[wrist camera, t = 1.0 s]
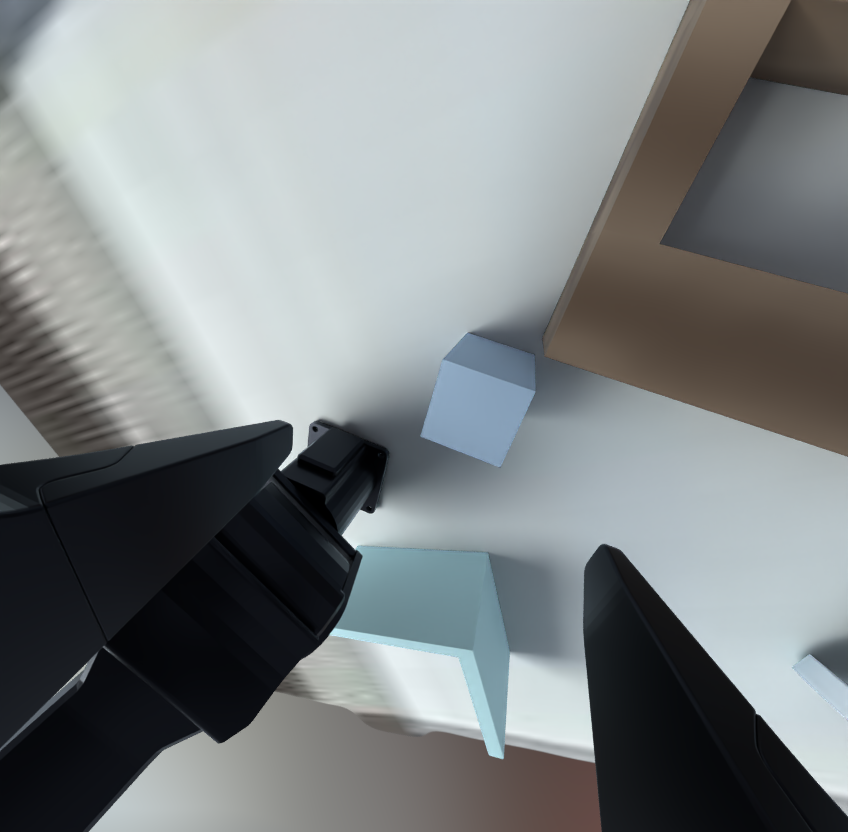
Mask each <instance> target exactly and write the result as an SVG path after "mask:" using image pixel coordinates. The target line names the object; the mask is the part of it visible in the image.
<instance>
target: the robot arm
mask: <svg viewBox="0 0 848 832" xmlns="http://www.w3.org/2000/svg"><path fill="white" fill-rule="evenodd" d="M315 426H316V427H317V428H318V429H316V427H315ZM292 444H293V427H292V425H291V424H289V423H287V422H284V421H281V420H275V421H269V422H263V423H258V424H252V425H246V426H241V427H235V428H229V429H223V430H218V431H212V432H206V433H201V434H195V435H189V436H184V437H178V438H172V439H167V440H161V441H155V442H150V443H144V444H138V445H135V446H126V447H121V448H115V449H109V450H103V451H97V452H91V453H85V454H78V455H70V456H63V457H56V458H49V459H41V460H34V461H26V462H18V463H11V464H3V465H0V832H89V831H90V829H91V828H92V827H93V826H94V825H95V824H96V823H97V822H98V821H99V819H100V818H101V817H102V816H103V815H104V814H105V813H106V812H107V811H108V809H110V807H111V806H112V805H113V804H114V803H115V802H116V801H117V799H118V798H119V797H120V796H121V795H122V794H123V793H124V792H125V791H126V790H127V788H128V787H129V786H130V785H131V784H132V783H133V782H134V781H135V780H136V779H137V777H138V776H139V775H140V774H141V773H142V772H143V771H144V770H145V769H146V768H147V766H148V765H149V764H150V763H151V762H152V761H153V760H154V759H155V758H156V757H157V756H158V755H159V754H160V753H161V752H162V751H163V750H164V749H167V748H169V747H171V746H173V745H175V744H177V743H179V742H181V741H183V740H185V739H188V738H190V737H192V736H194V735H196V734H198V733H200V732H202V731H204V732H205V733H206V734H207V735H209V736H210V737H211V738H212V739H213V740H215V741H216V742H217V743H223V742H225V741H226V740H228V739H229V738H231V737H232V736H233V735H235V734H237V733H238V732H239V731H241V730H242V729H244V728H245V727H247V726H248V725H249V724H250V723H251V722H252V721H253V720H254V718H255V717H256V716H257V714H258V713H259V711H260V710H261V709H262V707H263V706H264V705H265V703H266V702H267V700H268V699H269V698H270V696H271V695H272V694H273V692H274V691H275V690H276V688H277V687H278V686H279V685H280V683H281V682H282V681H283V679H284V678H285V677H286V676H287V675H288V674H289V672H290V671H291V670H292V669H293V668H294V667H295V666H296V664H297V663H298V662H299V661H300V660H301V659H303V658H305V657H307V656H308V655H309V654H311V653H312V652H313V651H314V650H316V649H317V648H318V647H319V646H320V645H321V644H322V643H323V642H324V641H325V639H326V638H327V637H328V636H329V635H330V633H331V632H332V631H333V629H334V628H335V626H336V625H337V623H338V622H339V620H340V619H341V617H342V615H343V613H344V611H345V608H346V606H347V603H348V600H349V597H350V594H351V591H352V588H353V585H354V582H355V579H356V576H357V573H358V570H359V566H360V563H361V560H362V557H363V555H362V554H361V553H360V552H359V551H358V550H355V549H354V548H353V547H352V546H351V545H350V544H349V543H348V542H347V541H346V540H345V539H344V538H343V537H342V534H343V533H344V531H345V530H346V529H347V527H348V526H349V524H350V523H351V521H352V520H353V519H354V517H355V516H356V514H357V513H358V511H359V510H363V511H365V512H367V513H374V511H375V510H376V508H377V504H378V500H379V496H380V492H381V488H382V484H383V479H384V475H385V471H386V467H387V463H388V459H389V451H388V450H387V449H386V448H384V447H381V446H379V445H376V444H374V443H371V442H369V441H366V440H364V439H362V438H359V437H357V436H354V435H352V434H349V433H347V432H345V431H342V430H340V429H337V428H335V427H332V426H329V425H327V424H324V423H322V422H319V421H314V422H313V423H311V424H310V426H309V436H308V447H307V448H306V449H305V450H303V451H302V452H301V453H300V454H299V455H298V457H297V458H296V459H295V460H294V461H292V462H291V463H290V464H289V465H288V466H286V467H285V468H284V469H283V470H282V471H280V470H279V469H278V468H279V467H280V465H281V464H282V463H283V462H284V461H285V459H286V458H287V457H288V456H289V454H290V453H291V450H292ZM380 453H382V454H383V455H384V456H382V455H381V454H380ZM369 506H370V507H371V508H370V507H369ZM583 633H584V646H585V657H586V668H587V679H588V689H589V700H590V711H591V721H592V732H593V743H594V754H595V764H596V775H597V786H598V797H599V807H600V818H601V827H602V832H848V816H847V815H846V814H845V813H844V812H843V811H842V810H841V808H840V807H839V806H838V805H837V804H836V803H835V802H834V801H833V800H832V798H831V797H830V796H829V795H828V794H827V793H826V792H825V791H824V789H823V788H822V787H821V786H820V785H819V784H818V783H817V782H816V781H815V779H814V778H813V777H812V776H811V775H810V774H809V772H808V771H807V770H806V769H805V768H804V767H803V765H802V764H801V763H800V762H799V761H798V760H797V758H796V757H795V756H794V755H793V754H792V753H791V751H790V750H789V749H788V748H787V747H786V746H785V745H784V743H783V742H782V741H781V740H780V739H779V737H778V736H777V735H776V734H775V733H774V732H773V730H772V729H771V728H770V727H769V726H768V724H767V723H766V722H765V721H764V720H763V718H762V717H761V716H760V715H758V714H756V711H755V709H754V708H753V707H752V705H751V704H750V703H749V702H748V701H747V700H746V698H745V697H744V696H743V695H742V694H741V692H740V691H739V690H738V689H737V688H736V686H735V685H734V684H733V683H732V682H731V681H730V679H729V678H728V677H727V676H726V675H725V673H724V672H723V671H722V670H721V669H720V667H719V666H718V665H717V664H716V663H715V662H714V660H713V659H712V658H711V657H710V656H709V654H708V653H707V652H706V651H705V650H704V649H703V647H702V646H701V645H700V644H699V643H698V641H697V640H696V639H695V638H694V637H693V635H692V634H691V633H690V632H689V631H688V630H687V628H686V627H685V626H684V625H683V624H682V622H681V621H680V620H679V619H678V618H677V616H676V615H675V614H674V613H673V612H672V611H671V609H670V608H669V607H668V606H667V605H666V603H665V602H664V601H663V600H662V599H661V597H660V596H659V595H658V594H657V593H656V592H655V590H654V589H653V588H652V587H651V586H650V584H649V583H648V582H647V581H646V580H645V578H644V577H643V576H642V575H641V574H640V573H639V571H638V570H637V569H636V568H635V567H634V565H633V564H632V563H631V562H630V561H629V559H628V558H627V557H626V556H625V555H624V554H623V552H622V551H621V550H619V549H617V548H615V547H612V546H609V545H607V544H602V545H600V546H599V547H598V549H597V550H596V551H595V553H594V554H593V555H592V557H591V558H590V560H589V561H588V562H587V564H586V566H585V570H584V611H583ZM87 662H88V663H87ZM86 663H87V665H86V667H85V669H84V670H83V671H82V672H81V673H80V674H79V675H78V676H76V677H75V678H74V679H73V680H72V681H71V682H69V683H68V684H67V685H66V686H65V687H64V688H63V689H62V690H60V689H61V688H62V687H63V686H64V685H65V684H66V683H67V682H68V681H69V680H70V679H71V678H72V677H73V676H74V675H75V674H76V673H77V672H78V671H79V670H80V669H81V668H82V667H83V666H84V665H85V664H86ZM59 690H60V691H59ZM58 691H59V692H58ZM57 692H58V693H57ZM56 693H57V694H56ZM55 694H56V695H55ZM54 695H55V696H54ZM53 696H54V697H53Z"/></svg>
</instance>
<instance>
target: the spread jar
mask: <svg viewBox="0 0 848 832" xmlns="http://www.w3.org/2000/svg"><path fill="white" fill-rule="evenodd" d="M792 668H793V669H794V670H795V671H796V672H797V673H798V675H799V676H800V677H801V678H803V679H804V680H805V681H806V682H807V683H808V684H809V685H810V686H811V687H812V688H813V689H814V690H815V691H816V692H817V693H818V694H819V695H820V696H821V697H822V698H824V699H825V700H826V701H827V702H828V703H829V704H830V705H831V706H832V707H833V708H834V709H835V710H837V711H838V712H839V713H840V714H841V715H842V716H843V717H844V718H845V719H846V720H847V721H848V684H846V683H845V682H844V681H843V680H841V679H840V678H839V677H838V676H837V675H835V674H834V673H833V672H832V671H830V670H829V669H828V668H827V667H826V666H824V665H823V664H822V663H821V662H819V661H818V660H817V659H816V658H814V657H813V656H812V655H808V656H806V657H805V658H803V659H802V660H801V661H799V662H798V663H796V664H795V665H794V666H792Z"/></svg>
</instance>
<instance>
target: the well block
mask: <svg viewBox="0 0 848 832" xmlns="http://www.w3.org/2000/svg"><path fill="white" fill-rule="evenodd" d="M749 77H751V78H756V79H762V80H767V81H773V82H778V83H783V84H789V85H794V86H800V87H805V88H811V89H816V90H821V91H827V92H832V93H838V94H843V95H848V0H690V2H689V4H688V6H687V9H686V11H685V13H684V16H683V18H682V20H681V22H680V25H679V27H678V29H677V32H676V34H675V36H674V38H673V41H672V43H671V45H670V48H669V50H668V52H667V54H666V57H665V59H664V61H663V64H662V66H661V68H660V70H659V73H658V75H657V77H656V80H655V82H654V84H653V86H652V89H651V91H650V93H649V96H648V98H647V100H646V102H645V105H644V107H643V109H642V112H641V114H640V116H639V118H638V121H637V123H636V125H635V127H634V130H633V132H632V134H631V137H630V139H629V141H628V143H627V146H626V148H625V150H624V153H623V155H622V157H621V159H620V162H619V164H618V166H617V169H616V171H615V173H614V175H613V178H612V180H611V182H610V185H609V187H608V189H607V191H606V194H605V196H604V198H603V201H602V203H601V205H600V207H599V210H598V212H597V214H596V217H595V219H594V221H593V223H592V226H591V228H590V230H589V233H588V235H587V237H586V239H585V242H584V244H583V246H582V249H581V251H580V253H579V255H578V258H577V260H576V262H575V264H574V267H573V269H572V271H571V274H570V276H569V278H568V280H567V283H566V285H565V287H564V290H563V292H562V294H561V296H560V299H559V301H558V303H557V306H556V308H555V310H554V312H553V315H552V317H551V319H550V322H549V324H548V326H547V328H546V331H545V333H544V335H543V338H542V340H543V348H544V356H545V357H547V358H550V359H553V360H556V361H559V362H562V363H565V364H568V365H571V366H575V367H578V368H581V369H584V370H587V371H590V372H593V373H596V374H599V375H602V376H605V377H608V378H611V379H614V380H617V381H620V382H623V383H626V384H629V385H632V386H635V387H638V388H641V389H644V390H647V391H650V392H653V393H656V394H659V395H662V396H665V397H669V398H672V399H675V400H678V401H681V402H684V403H687V404H690V405H693V406H696V407H699V408H702V409H705V410H708V411H711V412H714V413H717V414H720V415H723V416H726V417H729V418H732V419H735V420H738V421H741V422H744V423H747V424H750V425H753V426H756V427H760V428H763V429H766V430H769V431H772V432H775V433H778V434H781V435H784V436H787V437H790V438H793V439H796V440H799V441H802V442H805V443H808V444H811V445H814V446H817V447H820V448H823V449H826V450H829V451H832V452H835V453H838V454H841V455H844V456H847V457H848V293H844V292H840V291H836V290H832V289H829V288H825V287H821V286H817V285H813V284H810V283H806V282H802V281H798V280H795V279H791V278H787V277H783V276H779V275H776V274H772V273H768V272H764V271H760V270H757V269H753V268H749V267H745V266H742V265H738V264H734V263H730V262H726V261H723V260H719V259H715V258H711V257H707V256H704V255H700V254H696V253H692V252H688V251H685V250H681V249H677V248H673V247H670V246H666V245H662V244H660V242H661V240H662V238H663V236H664V234H665V233H666V231H667V229H668V227H669V225H670V223H671V221H672V220H673V218H674V216H675V214H676V212H677V210H678V209H679V207H680V205H681V203H682V201H683V199H684V197H685V196H686V194H687V192H688V190H689V188H690V186H691V184H692V183H693V181H694V179H695V177H696V175H697V173H698V172H699V170H700V168H701V166H702V164H703V162H704V160H705V159H706V157H707V155H708V153H709V151H710V149H711V148H712V146H713V144H714V142H715V140H716V138H717V136H718V135H719V133H720V131H721V129H722V127H723V125H724V124H725V122H726V120H727V118H728V116H729V114H730V112H731V111H732V109H733V107H734V105H735V103H736V101H737V100H738V98H739V96H740V94H741V92H742V90H743V88H744V87H745V85H746V83H747V81H748V79H749Z"/></svg>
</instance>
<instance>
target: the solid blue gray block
mask: <svg viewBox="0 0 848 832" xmlns="http://www.w3.org/2000/svg"><path fill="white" fill-rule="evenodd" d="M535 392H536V382H535V355H534V354H531V353H528V352H525V351H522V350H519V349H515V348H512V347H509V346H506V345H503V344H500V343H497V342H494V341H491V340H488V339H485V338H482V337H479V336H476V335H473V334H470V333H467V334H466V335H465V336H464V337H463V338H462V339H461V340H460V341H459V342H458V344H457V345H456V346H455V347H454V348H453V349H452V350H451V351H450V352H449V353H448V354H447V355H446V357H445V358H444V359H443V361H442V364H441V367H440V371H439V374H438V378H437V381H436V385H435V388H434V391H433V395H432V398H431V402H430V405H429V409H428V412H427V415H426V419H425V422H424V426H423V429H422V432H421V436H420V437H423V438H425V439H428V440H430V441H433V442H436V443H438V444H441V445H443V446H446V447H448V448H451V449H454V450H456V451H459V452H461V453H464V454H466V455H469V456H472V457H474V458H477V459H479V460H482V461H484V462H487V463H490V464H492V465H495V466H497V467H501V465H502V463H503V461H504V459H505V456H506V454H507V452H508V450H509V448H510V446H511V444H512V441H513V439H514V437H515V435H516V433H517V431H518V429H519V426H520V424H521V422H522V420H523V418H524V416H525V414H526V411H527V409H528V407H529V405H530V403H531V401H532V399H533V396H534V394H535Z"/></svg>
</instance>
